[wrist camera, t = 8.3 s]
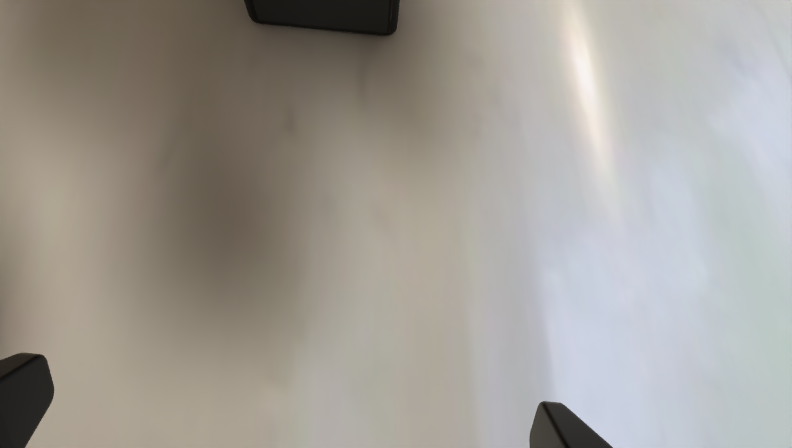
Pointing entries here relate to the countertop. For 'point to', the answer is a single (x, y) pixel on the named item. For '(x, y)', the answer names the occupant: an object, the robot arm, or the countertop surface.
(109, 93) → the countertop surface
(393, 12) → the battery
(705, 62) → the countertop surface
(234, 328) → the countertop surface
